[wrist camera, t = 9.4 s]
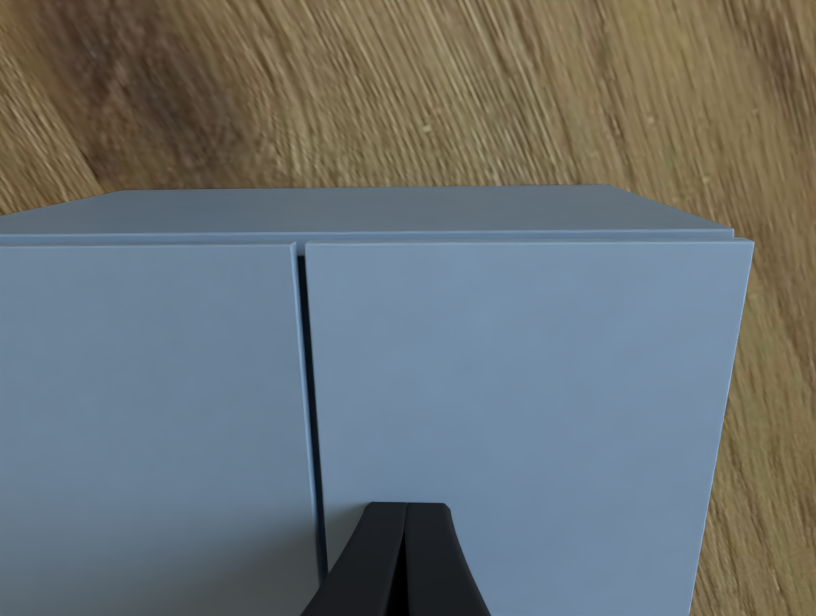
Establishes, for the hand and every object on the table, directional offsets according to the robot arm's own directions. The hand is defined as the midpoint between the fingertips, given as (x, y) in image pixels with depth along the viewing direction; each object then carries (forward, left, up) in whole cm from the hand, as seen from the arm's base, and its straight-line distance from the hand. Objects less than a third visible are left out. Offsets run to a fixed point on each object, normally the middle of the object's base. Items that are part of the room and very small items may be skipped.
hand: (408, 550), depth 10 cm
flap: (0, -2, 0) cm, 2 cm away
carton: (0, +1, -7) cm, 7 cm away
